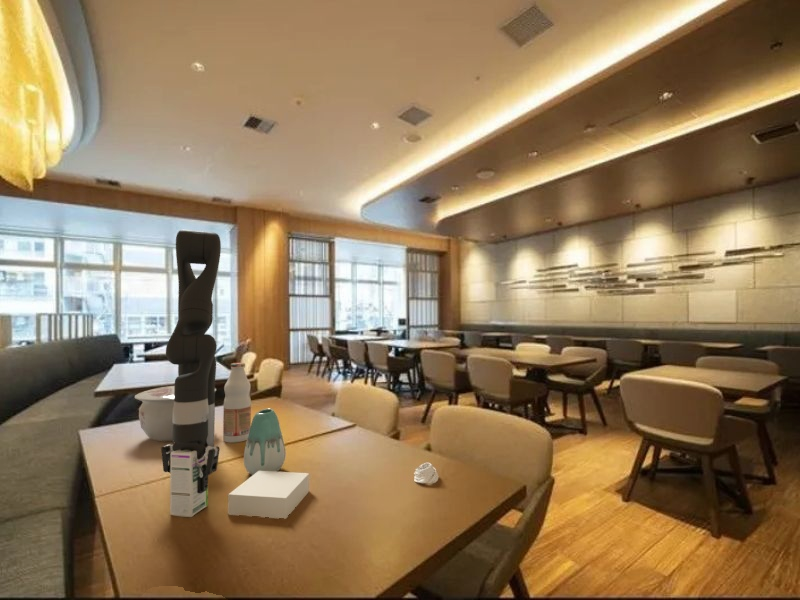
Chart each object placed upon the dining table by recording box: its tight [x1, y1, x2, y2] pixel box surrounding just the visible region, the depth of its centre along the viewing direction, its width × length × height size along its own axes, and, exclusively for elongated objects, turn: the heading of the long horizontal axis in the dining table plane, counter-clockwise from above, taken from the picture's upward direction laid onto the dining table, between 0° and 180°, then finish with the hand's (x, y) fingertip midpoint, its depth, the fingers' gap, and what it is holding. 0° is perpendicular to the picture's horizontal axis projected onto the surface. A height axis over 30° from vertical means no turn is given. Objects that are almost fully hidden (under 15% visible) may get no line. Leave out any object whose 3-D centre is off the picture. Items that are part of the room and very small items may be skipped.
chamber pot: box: [134, 385, 217, 442], centre depth 150 cm, size 28×28×21 cm
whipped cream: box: [413, 462, 439, 485], centre depth 109 cm, size 8×7×5 cm
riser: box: [227, 471, 310, 520], centre depth 96 cm, size 14×14×5 cm
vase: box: [243, 408, 286, 476], centre depth 115 cm, size 12×12×18 cm
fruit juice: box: [222, 362, 252, 444], centre depth 146 cm, size 9×9×28 cm
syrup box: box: [169, 450, 209, 518], centre depth 92 cm, size 6×6×14 cm
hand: (189, 490), depth 92 cm, fingers closed on syrup box, 6 cm apart
